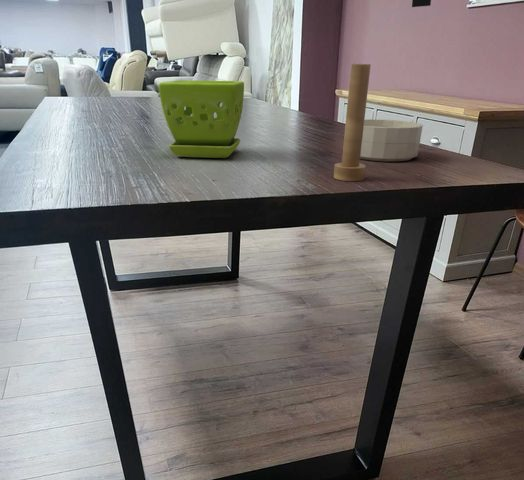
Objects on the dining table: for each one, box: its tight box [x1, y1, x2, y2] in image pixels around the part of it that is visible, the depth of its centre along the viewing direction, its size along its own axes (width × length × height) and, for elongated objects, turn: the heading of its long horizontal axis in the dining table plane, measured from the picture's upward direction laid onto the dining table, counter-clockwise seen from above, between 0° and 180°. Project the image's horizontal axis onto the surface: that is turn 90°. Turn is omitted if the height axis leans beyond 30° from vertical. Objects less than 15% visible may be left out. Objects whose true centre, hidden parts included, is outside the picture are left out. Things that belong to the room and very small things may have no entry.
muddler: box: [333, 63, 372, 182], centre depth 75 cm, size 5×5×16 cm
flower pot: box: [158, 80, 245, 159], centre depth 93 cm, size 14×14×13 cm
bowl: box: [360, 118, 424, 162], centre depth 97 cm, size 14×14×6 cm
